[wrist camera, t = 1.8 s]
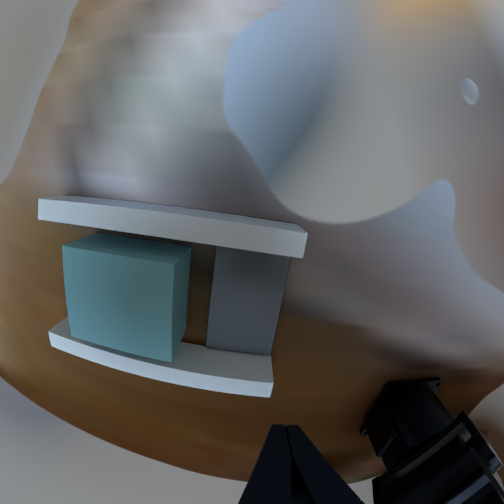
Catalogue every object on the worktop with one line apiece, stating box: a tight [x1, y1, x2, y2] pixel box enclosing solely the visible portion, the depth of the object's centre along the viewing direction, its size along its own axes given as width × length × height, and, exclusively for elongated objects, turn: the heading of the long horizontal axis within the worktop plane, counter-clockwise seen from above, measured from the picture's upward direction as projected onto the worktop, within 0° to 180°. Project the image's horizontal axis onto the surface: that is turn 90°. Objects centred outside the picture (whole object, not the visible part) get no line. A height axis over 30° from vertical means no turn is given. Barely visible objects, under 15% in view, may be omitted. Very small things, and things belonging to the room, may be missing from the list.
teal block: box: [62, 233, 192, 363], centre depth 15 cm, size 6×6×4 cm
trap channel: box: [38, 195, 308, 398], centre depth 15 cm, size 15×10×3 cm, turn 81°
